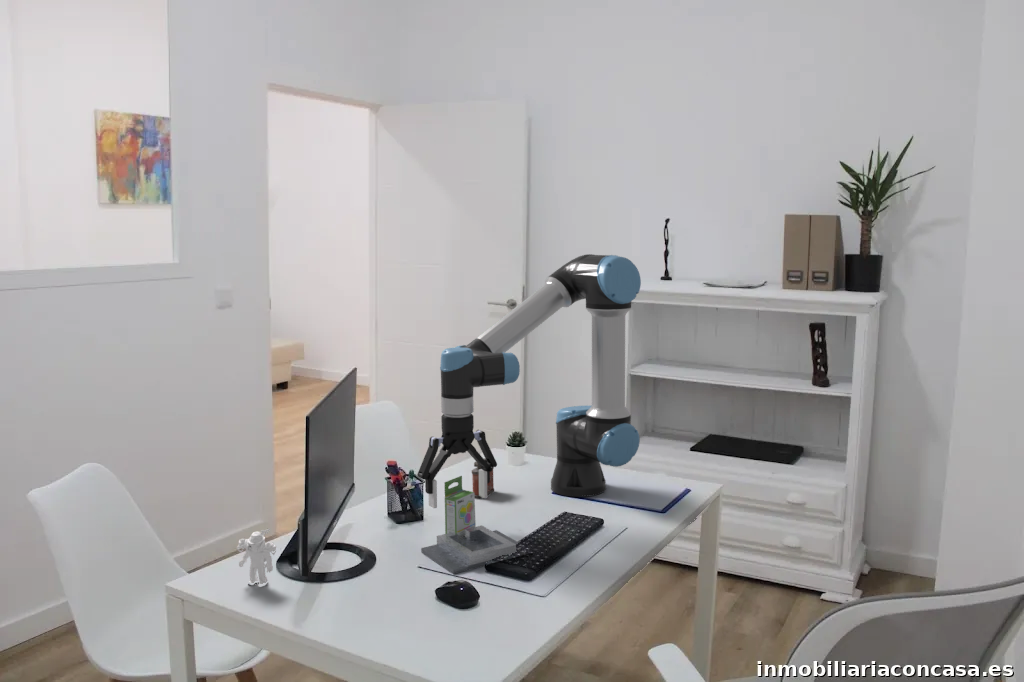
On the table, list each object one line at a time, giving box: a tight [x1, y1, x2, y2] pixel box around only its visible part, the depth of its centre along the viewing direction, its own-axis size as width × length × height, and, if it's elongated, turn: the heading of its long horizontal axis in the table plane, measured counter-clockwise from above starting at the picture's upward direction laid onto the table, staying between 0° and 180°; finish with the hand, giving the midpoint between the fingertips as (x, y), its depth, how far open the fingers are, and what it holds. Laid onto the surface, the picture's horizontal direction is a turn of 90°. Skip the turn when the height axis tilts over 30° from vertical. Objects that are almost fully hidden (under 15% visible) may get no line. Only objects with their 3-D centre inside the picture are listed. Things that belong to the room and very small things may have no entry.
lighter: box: [471, 457, 495, 500], centre depth 241 cm, size 8×3×10 cm, turn 144°
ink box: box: [444, 475, 477, 539], centre depth 211 cm, size 7×4×13 cm, turn 144°
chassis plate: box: [420, 525, 520, 575], centre depth 200 cm, size 20×15×3 cm
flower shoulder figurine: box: [236, 528, 277, 584], centre depth 184 cm, size 9×4×12 cm, turn 69°
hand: (458, 501), depth 210 cm, fingers open, 13 cm apart
